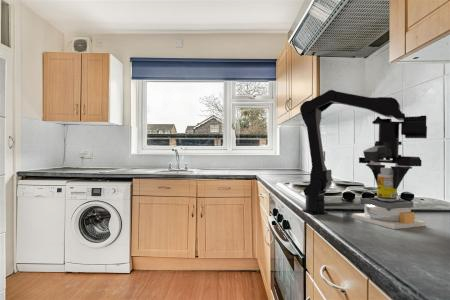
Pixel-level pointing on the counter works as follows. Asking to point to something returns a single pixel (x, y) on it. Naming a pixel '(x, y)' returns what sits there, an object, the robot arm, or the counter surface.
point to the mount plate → (389, 224)
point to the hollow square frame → (388, 210)
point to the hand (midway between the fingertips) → (387, 187)
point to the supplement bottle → (386, 185)
